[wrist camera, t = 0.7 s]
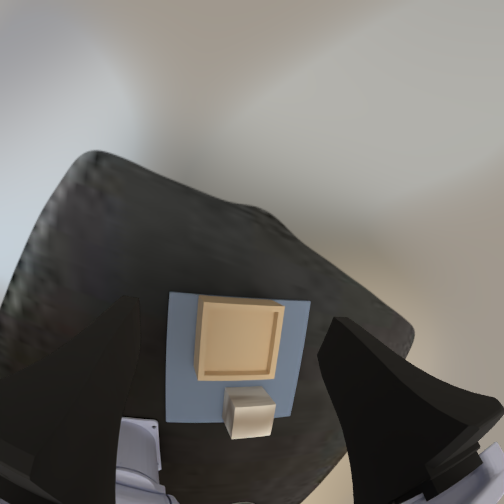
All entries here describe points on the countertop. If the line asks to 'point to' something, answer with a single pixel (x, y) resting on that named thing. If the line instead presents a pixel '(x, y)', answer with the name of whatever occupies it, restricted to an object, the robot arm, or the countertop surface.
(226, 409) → the cream block
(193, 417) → the board
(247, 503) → the canned tomato
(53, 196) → the countertop surface
